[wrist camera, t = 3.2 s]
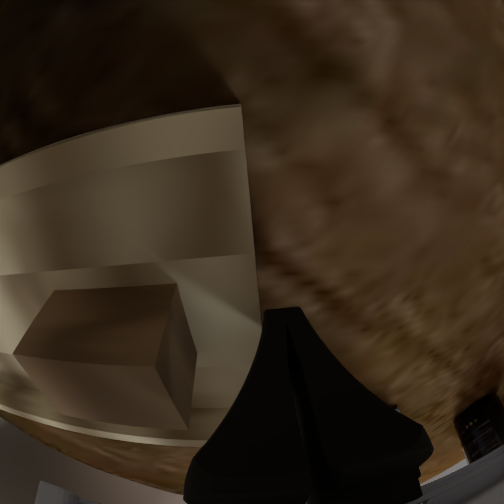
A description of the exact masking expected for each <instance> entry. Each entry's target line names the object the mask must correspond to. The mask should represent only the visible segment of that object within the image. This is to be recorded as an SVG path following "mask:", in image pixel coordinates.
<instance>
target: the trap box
mask: <svg viewBox="0 0 504 504" xmlns="http://www.w3.org/2000/svg"><path fill="white" fill-rule="evenodd" d="M174 283H177V286H178V290H179V293H180V297H181V301H182V304H183V308H184V311H185V315H186V318H187V321H188V325H189V328H190V331H191V335H192V338H193V341H194V344H195V348H196V351H197V361H196V369H195V378H194V386H193V395H192V404H191V413H190V423H189V430H175V429H158V428H146V427H136V426H127V425H119V424H111V423H104V422H98V421H92V420H87V419H81V418H76V417H71V416H66V415H62V414H61V413H60V412H59V410H58V409H57V408H56V407H55V406H54V405H53V404H52V403H51V402H50V401H49V399H48V398H47V397H46V396H45V395H44V394H43V393H42V391H41V390H40V389H39V388H38V387H37V385H36V384H35V383H34V382H33V381H32V379H31V378H30V377H29V375H28V374H27V373H26V372H25V370H24V369H23V368H22V366H21V365H20V364H19V362H18V361H17V360H16V358H15V357H14V355H13V352H14V350H15V348H16V347H17V345H18V344H19V342H20V340H21V339H22V337H23V336H24V334H25V332H26V331H27V329H28V328H29V326H30V325H31V323H32V322H33V320H34V319H35V317H36V316H37V314H38V313H39V311H40V310H41V308H42V307H43V305H44V304H45V303H46V301H47V300H48V298H49V297H50V296H51V294H52V293H53V291H54V290H73V289H93V288H112V287H129V286H145V285H160V284H174ZM261 332H262V328H261V316H260V305H259V294H258V283H257V272H256V261H255V249H254V238H253V227H252V216H251V205H250V195H249V184H248V173H247V162H246V151H245V140H244V130H243V119H242V108H241V104H233V105H223V106H215V107H207V108H200V109H193V110H186V111H180V112H174V113H169V114H163V115H158V116H153V117H148V118H143V119H139V120H134V121H130V122H125V123H121V124H117V125H113V126H109V127H105V128H102V129H98V130H94V131H91V132H88V133H84V134H81V135H77V136H74V137H71V138H68V139H65V140H62V141H59V142H56V143H53V144H50V145H47V146H44V147H42V148H39V149H36V150H34V151H31V152H28V153H26V154H23V155H21V156H18V157H16V158H14V159H11V160H9V161H7V162H4V163H2V164H0V409H2V410H4V411H7V412H10V413H13V414H15V415H18V416H21V417H24V418H27V419H30V420H34V421H37V422H40V423H44V424H47V425H51V426H54V427H58V428H62V429H66V430H70V431H74V432H79V433H83V434H88V435H93V436H99V437H104V438H110V439H116V440H123V441H130V442H138V443H147V444H158V445H171V446H190V447H202V446H203V445H204V444H205V443H206V442H207V441H208V439H209V438H210V437H211V436H212V434H213V433H214V432H215V430H216V429H217V427H218V426H219V424H220V423H221V422H222V420H223V419H224V417H225V416H226V414H227V413H228V411H229V410H230V408H231V406H232V404H233V403H234V401H235V399H236V397H237V396H238V394H239V392H240V390H241V388H242V386H243V384H244V382H245V380H246V377H247V375H248V373H249V370H250V368H251V365H252V362H253V360H254V357H255V354H256V351H257V348H258V344H259V341H260V337H261Z"/></svg>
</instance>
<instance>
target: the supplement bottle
mask: <svg viewBox="0 0 504 504" xmlns="http://www.w3.org/2000/svg"><path fill="white" fill-rule="evenodd" d="M455 429H456V431H457V434H458V436H459V439H460V441H461V444H462V446H463V449H464V451H465V454H466V456H467V459H468V461H469V464H471V463H473V462H475V461H476V460H478V459H480V458H482V457H484V456H485V455H487V454H489V453H490V452H492V451H494V450H495V449H497V448H499V447H500V446H502V445H503V444H504V406H503V404H502V402H501V401H500V399H499V397H498V396H497V395H496V394H489V395H487V396H484V397H483V398H481V399H479V400H478V401H476V402H475V403H473V404H472V405H471V406H469V407H468V408H467V409H466V410H465V411H463V412H462V413H461V414H460V415H459V417H458V418H457V419H456V421H455Z"/></svg>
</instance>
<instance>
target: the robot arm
mask: <svg viewBox="0 0 504 504" xmlns="http://www.w3.org/2000/svg"><path fill="white" fill-rule="evenodd" d="M295 408H296V409H295ZM296 412H297V414H296ZM297 417H298V419H297ZM298 422H299V423H298ZM433 450H434V449H433V446H432V443H431V441H430V438H429V436H428V434H427V433H426V431H425V429H424V427H423V426H422V425H421V424H419V423H417V422H415V421H413V420H411V419H410V418H408V417H406V416H404V415H403V414H401V413H400V411H399V409H394V408H392V407H391V406H389V405H388V404H386V403H385V402H383V401H382V400H381V399H380V398H378V397H377V396H376V395H374V394H373V393H372V392H371V391H369V390H368V389H367V388H366V387H364V386H363V385H362V384H361V383H360V382H359V381H358V380H357V379H356V378H355V377H354V376H352V375H351V374H350V373H349V372H348V371H347V370H346V369H345V367H344V366H343V365H342V364H341V363H340V362H339V361H338V360H337V359H336V358H335V356H334V355H333V354H332V353H331V352H330V350H329V349H328V348H327V347H326V345H325V344H324V343H323V341H322V340H321V339H320V337H319V336H318V335H317V333H316V332H315V330H314V329H313V327H312V326H311V324H310V323H309V321H308V320H307V318H306V316H305V315H304V313H303V311H302V309H301V308H300V307H290V308H280V309H269V310H266V311H264V320H263V328H262V332H261V337H260V341H259V344H258V348H257V351H256V354H255V357H254V360H253V362H252V365H251V368H250V370H249V373H248V375H247V377H246V380H245V382H244V384H243V386H242V388H241V390H240V392H239V394H238V396H237V397H236V399H235V401H234V403H233V404H232V406H231V408H230V410H229V411H228V413H227V414H226V416H225V417H224V419H223V420H222V422H221V423H220V424H219V426H218V427H217V429H216V430H215V432H214V433H213V434H212V436H211V437H210V438H209V439H208V441H207V442H206V443H205V444H204V445H203V446H202V448H201V449H200V450H199V451H198V452H197V453H196V455H195V456H194V457H193V459H192V461H191V464H190V466H189V469H188V472H187V475H186V479H185V484H184V497H183V499H184V501H185V502H186V503H187V504H421V503H422V504H504V444H503V445H502V446H500V447H499V448H497V449H495V450H494V451H492V452H490V453H489V454H487V455H485V456H484V457H482V458H480V459H478V460H476V461H475V462H473V463H471V464H469V465H467V466H465V467H463V468H461V469H459V470H457V471H455V472H453V473H451V474H449V475H447V476H444V477H442V478H440V479H438V480H435V481H433V482H431V483H428V484H426V485H423V486H420V483H419V480H418V478H419V477H420V476H421V473H420V470H419V466H420V465H421V464H423V463H424V462H425V461H426V460H427V459H428V458H429V457H430V456H431V455H432V453H433ZM35 504H99V503H95V502H92V501H89V500H86V499H83V498H79V497H78V496H77V495H75V494H73V493H71V492H69V491H67V490H65V489H62V488H60V487H57V486H54V485H52V484H49V483H47V482H44V481H40V484H39V488H38V492H37V496H36V500H35Z"/></svg>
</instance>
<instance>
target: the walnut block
mask: <svg viewBox="0 0 504 504" xmlns="http://www.w3.org/2000/svg"><path fill="white" fill-rule="evenodd" d="M13 355H14V357H15V358H16V360H17V361H18V362H19V364H20V365H21V366H22V368H23V369H24V370H25V372H26V373H27V374H28V375H29V377H30V378H31V379H32V381H33V382H34V383H35V384H36V385H37V387H38V388H39V389H40V390H41V391H42V393H43V394H44V395H45V396H46V397H47V398H48V399H49V401H50V402H51V403H52V404H53V405H54V406H55V407H56V408H57V409H58V410H59V412H60V413H61V414H62V415H66V416H71V417H76V418H81V419H87V420H92V421H98V422H104V423H111V424H119V425H127V426H136V427H146V428H158V429H175V430H189V423H190V413H191V404H192V395H193V386H194V378H195V369H196V361H197V351H196V348H195V344H194V341H193V338H192V335H191V331H190V328H189V325H188V321H187V318H186V315H185V311H184V308H183V304H182V301H181V297H180V293H179V290H178V286H177V283H174V284H160V285H145V286H129V287H112V288H93V289H73V290H54V291H53V293H52V294H51V296H50V297H49V298H48V300H47V301H46V303H45V304H44V305H43V307H42V308H41V310H40V311H39V313H38V314H37V316H36V317H35V319H34V320H33V322H32V323H31V325H30V326H29V328H28V329H27V331H26V332H25V334H24V336H23V337H22V339H21V340H20V342H19V344H18V345H17V347H16V348H15V350H14V352H13Z"/></svg>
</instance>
